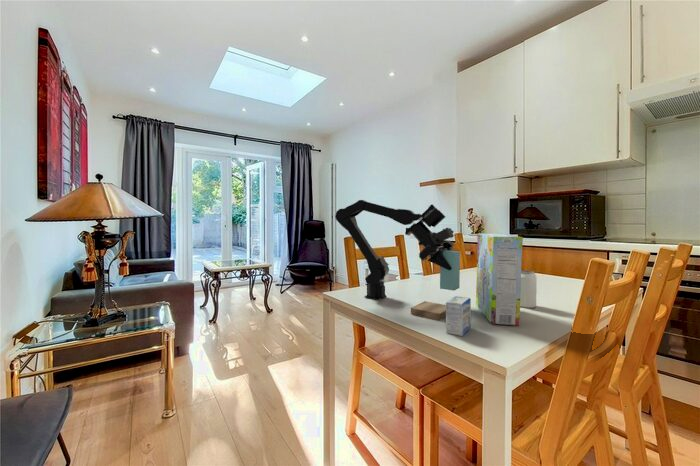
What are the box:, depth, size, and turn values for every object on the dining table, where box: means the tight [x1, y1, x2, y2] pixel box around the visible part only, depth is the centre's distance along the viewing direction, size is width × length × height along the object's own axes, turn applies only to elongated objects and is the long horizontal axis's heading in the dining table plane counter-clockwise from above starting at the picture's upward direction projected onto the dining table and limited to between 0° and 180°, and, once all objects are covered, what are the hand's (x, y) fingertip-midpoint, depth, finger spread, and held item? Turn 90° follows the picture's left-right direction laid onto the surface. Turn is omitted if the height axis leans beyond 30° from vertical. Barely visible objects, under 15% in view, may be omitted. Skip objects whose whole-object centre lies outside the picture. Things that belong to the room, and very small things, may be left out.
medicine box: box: [445, 295, 472, 337], centre depth 82 cm, size 8×4×9 cm, turn 143°
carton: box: [439, 250, 461, 291], centre depth 105 cm, size 5×5×13 cm
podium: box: [410, 300, 446, 321], centre depth 98 cm, size 10×10×2 cm
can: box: [520, 269, 538, 309], centre depth 104 cm, size 6×6×12 cm
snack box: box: [475, 233, 524, 327], centre depth 95 cm, size 22×9×26 cm, turn 168°
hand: (453, 268), depth 104 cm, fingers closed on carton, 5 cm apart
